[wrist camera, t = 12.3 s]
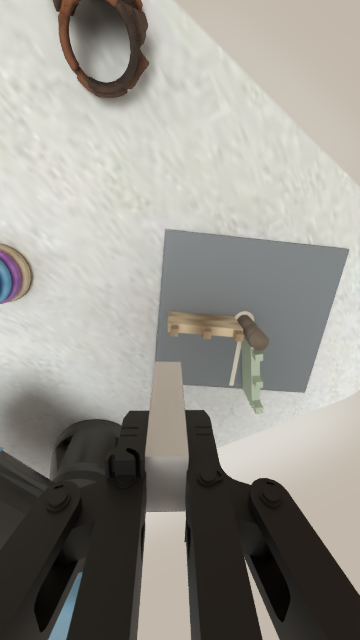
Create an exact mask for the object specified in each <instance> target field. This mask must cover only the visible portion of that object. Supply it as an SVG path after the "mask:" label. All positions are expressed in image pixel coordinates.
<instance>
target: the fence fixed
mask: <svg viewBox="0 0 360 640" xmlns="http://www.w3.org/2000/svg"><path fill="white" fill-rule="evenodd" d="M168 332H170V336H174V337H178V333H188V334H201V335H202V337H203V339H211V335H213V336H226V337H233V338H234V340H235V341H238V342H243V339H244V335H245V337H246V338H247V340H248V341H249V342H250V344H251V345H252V347H253V348H254V349H255V350H258V351H261V350H264V349H266V348H267V347H268V345H269V339H268V337H267V336H266V335H265V334H264V333H263V331H262V330H261V329H260V328H259V327H258V326H257V325H256V323H255V322H254V321H253V320H252V319H251V318H250V317H249V316H248V315H241V316H240V317H239V318H238V319H237V320H236V318H235V317H233V316H221V315H209V314H198V313H186V312H174V311H168Z"/></svg>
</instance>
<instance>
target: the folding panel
mask: <svg viewBox="0 0 360 640" xmlns="http://www.w3.org/2000/svg"><path fill="white" fill-rule="evenodd" d="M241 350H242V385H243V390H244V392H245V394H246V396H247V398H248V401H249V403H250V405H251V407H252V408H254V411H255V413H256V414H258V413H263V406H262V404H261V402H260V388H263V381H262V379H261V377H260V361H263V353H262V352H261V351H258V350H255V349H254V348H253V347H252V345H251V344H250V342H249V341H248V340H247V338H246V337H245V335H244V339H243V342H241Z"/></svg>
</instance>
